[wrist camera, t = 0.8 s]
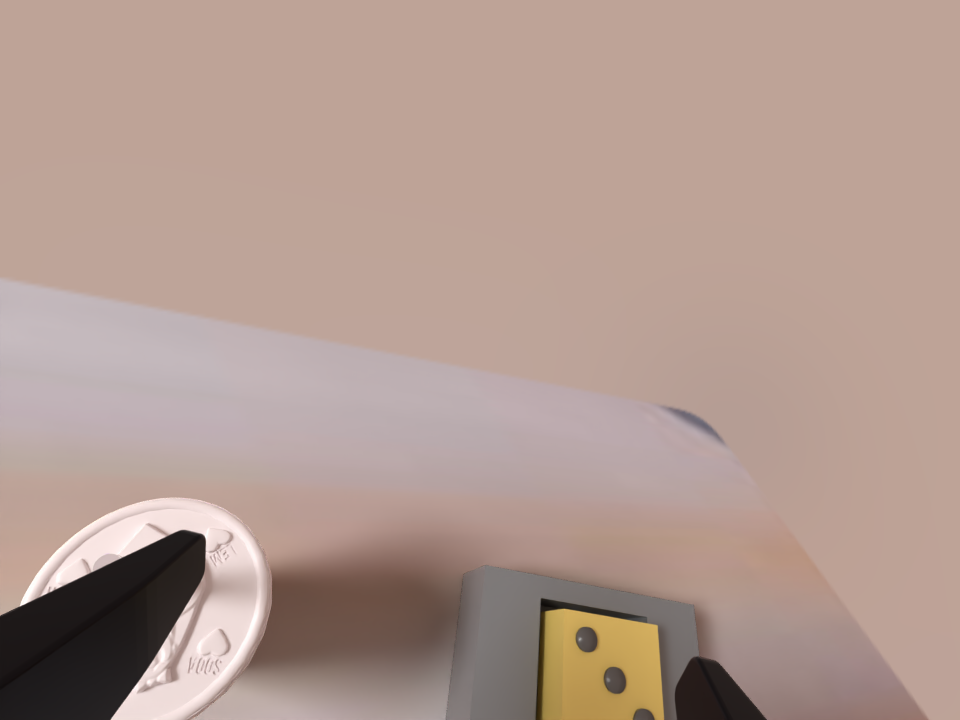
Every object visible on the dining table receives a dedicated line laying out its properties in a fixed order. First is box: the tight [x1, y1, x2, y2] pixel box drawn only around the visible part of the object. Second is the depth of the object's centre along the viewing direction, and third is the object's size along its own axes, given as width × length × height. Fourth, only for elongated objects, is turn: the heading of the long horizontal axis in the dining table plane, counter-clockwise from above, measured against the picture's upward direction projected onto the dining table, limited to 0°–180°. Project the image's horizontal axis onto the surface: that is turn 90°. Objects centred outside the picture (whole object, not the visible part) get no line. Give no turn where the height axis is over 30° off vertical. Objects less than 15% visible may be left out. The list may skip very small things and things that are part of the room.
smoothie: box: [20, 498, 272, 720], centre depth 16 cm, size 6×6×14 cm
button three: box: [536, 609, 664, 720], centre depth 23 cm, size 5×5×3 cm
